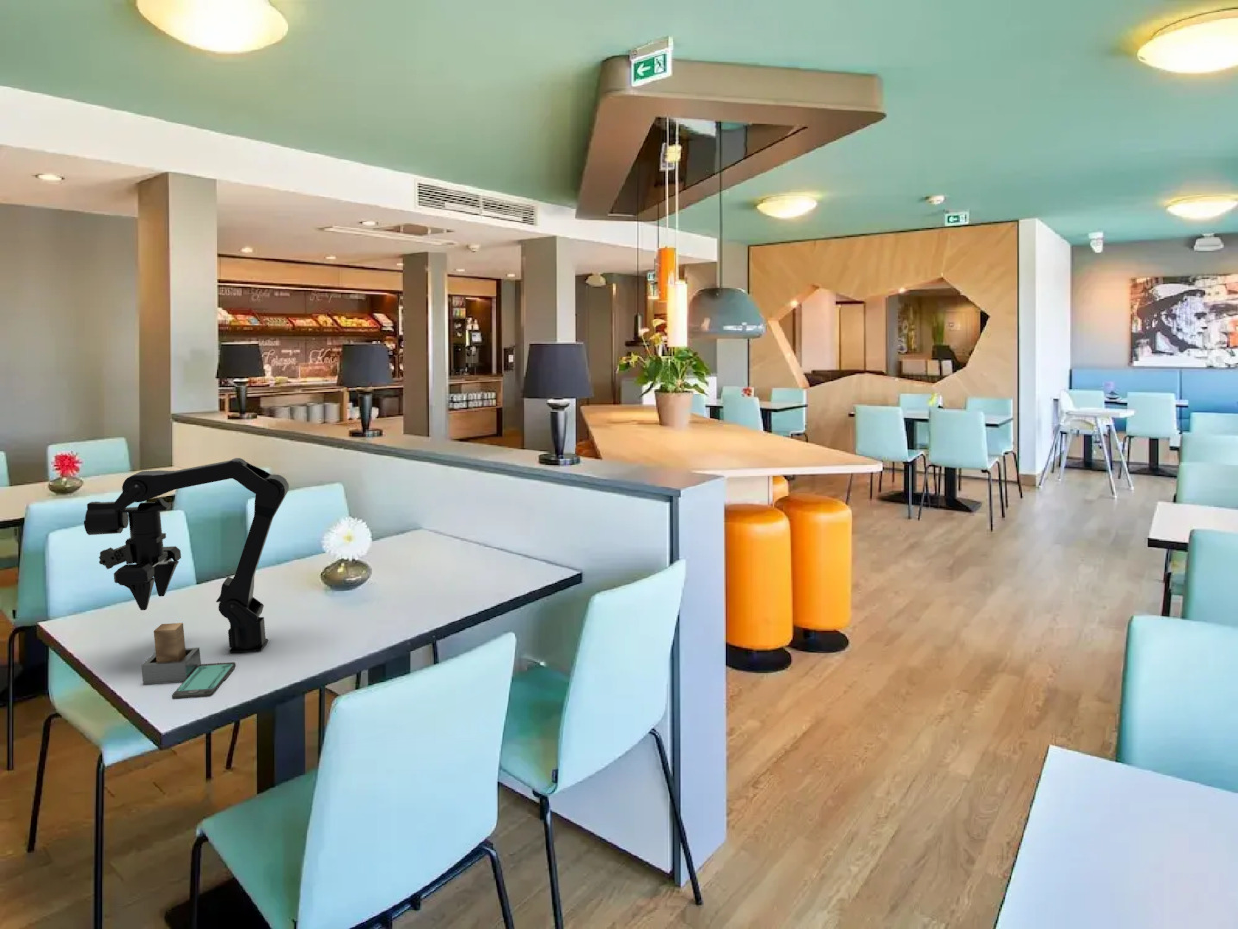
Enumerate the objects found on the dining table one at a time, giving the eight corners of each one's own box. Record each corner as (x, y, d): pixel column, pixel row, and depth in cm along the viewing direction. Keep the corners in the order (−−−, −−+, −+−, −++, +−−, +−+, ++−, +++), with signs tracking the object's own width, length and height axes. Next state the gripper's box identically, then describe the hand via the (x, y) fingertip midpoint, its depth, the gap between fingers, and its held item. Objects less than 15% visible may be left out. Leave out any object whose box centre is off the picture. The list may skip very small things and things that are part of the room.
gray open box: (201, 665, 162) (199, 647, 162) (186, 681, 154) (185, 662, 154) (159, 668, 161) (157, 650, 160) (143, 684, 153) (141, 665, 153)
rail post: (187, 669, 160) (182, 622, 159) (179, 677, 156) (175, 629, 155) (166, 670, 159) (161, 624, 158) (158, 678, 155) (153, 631, 154)
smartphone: (170, 695, 147) (199, 663, 161) (171, 701, 147) (200, 669, 161) (212, 692, 148) (237, 661, 162) (212, 698, 148) (237, 666, 163)
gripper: (124, 523, 171) (131, 591, 173) (81, 544, 153) (89, 620, 155) (178, 521, 173) (184, 589, 175) (142, 541, 155) (150, 616, 157)
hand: (152, 602), depth 165 cm, fingers open, 9 cm apart
